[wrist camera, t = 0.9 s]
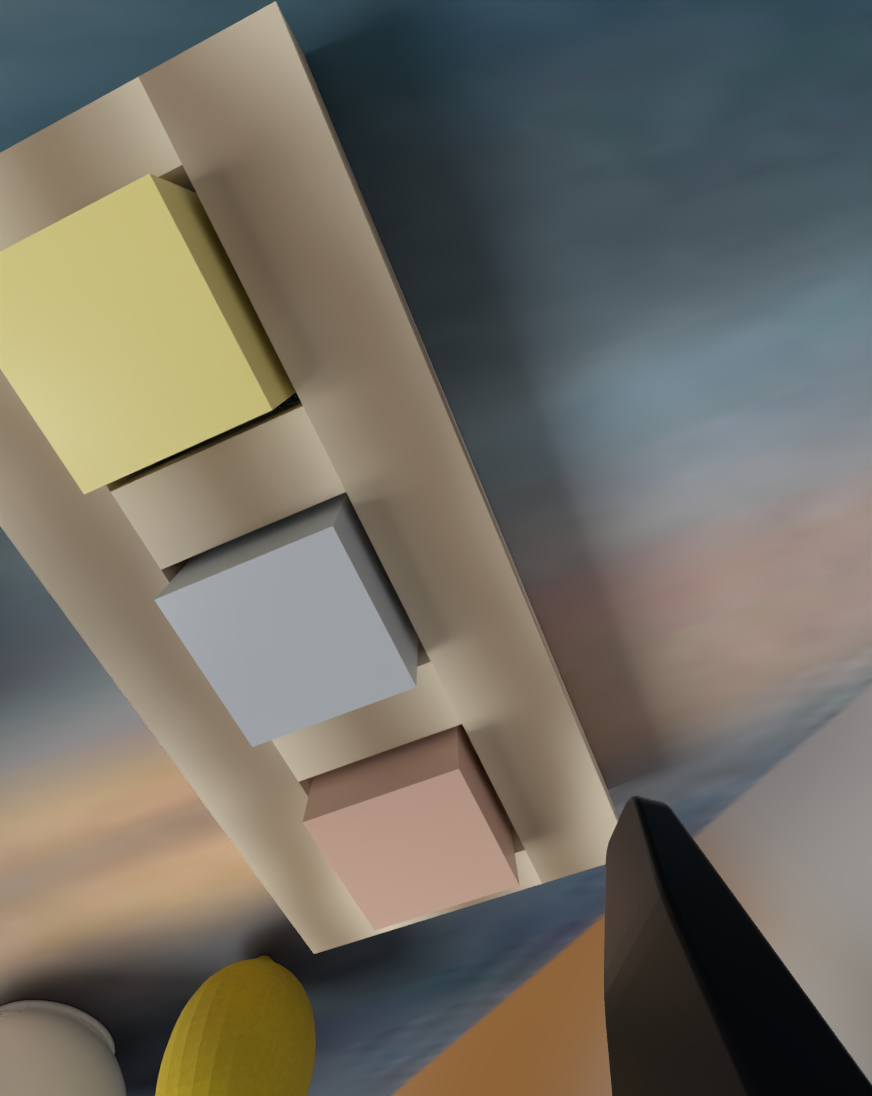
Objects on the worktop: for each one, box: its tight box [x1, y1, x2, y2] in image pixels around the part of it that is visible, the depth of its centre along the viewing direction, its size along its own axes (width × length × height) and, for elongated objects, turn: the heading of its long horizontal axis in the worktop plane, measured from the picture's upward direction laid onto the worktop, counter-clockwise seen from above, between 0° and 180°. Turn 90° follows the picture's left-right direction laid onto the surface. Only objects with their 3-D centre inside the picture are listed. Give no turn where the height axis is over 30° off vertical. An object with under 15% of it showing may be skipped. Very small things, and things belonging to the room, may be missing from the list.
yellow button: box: [0, 174, 296, 494], centre depth 15 cm, size 5×5×3 cm
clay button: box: [302, 724, 520, 931], centre depth 21 cm, size 5×5×3 cm
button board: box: [0, 1, 619, 954], centre depth 19 cm, size 12×25×3 cm, turn 23°
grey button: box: [154, 492, 418, 747], centre depth 18 cm, size 5×5×3 cm
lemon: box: [155, 956, 316, 1096], centre depth 24 cm, size 6×6×8 cm
